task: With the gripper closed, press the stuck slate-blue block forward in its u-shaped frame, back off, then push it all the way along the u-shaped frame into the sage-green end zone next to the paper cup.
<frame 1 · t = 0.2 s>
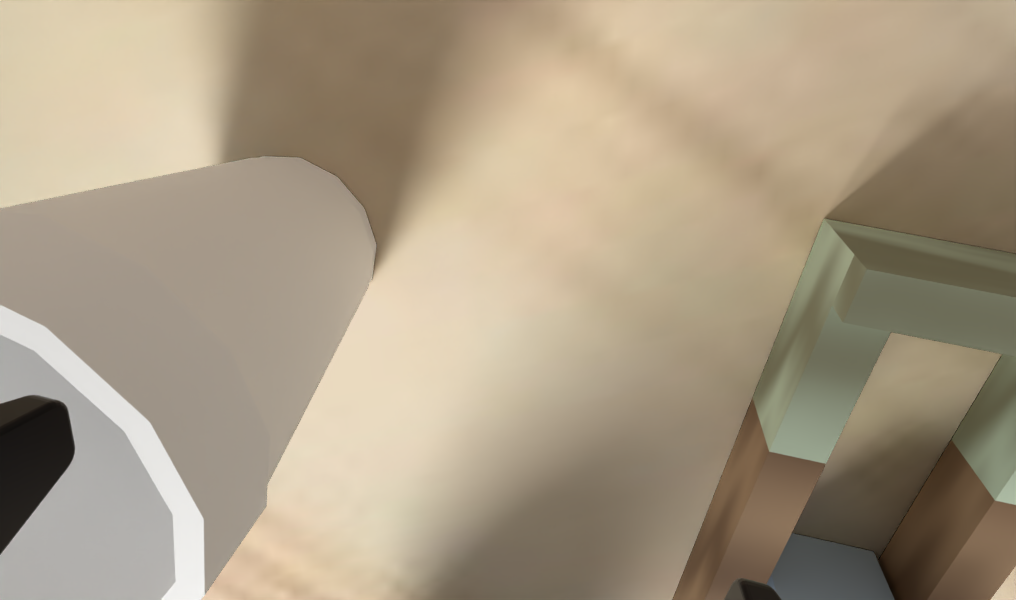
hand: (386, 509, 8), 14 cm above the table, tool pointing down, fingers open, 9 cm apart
u-shaped frame: (840, 493, 24), on the table
foam cup: (297, 238, 23), on the table
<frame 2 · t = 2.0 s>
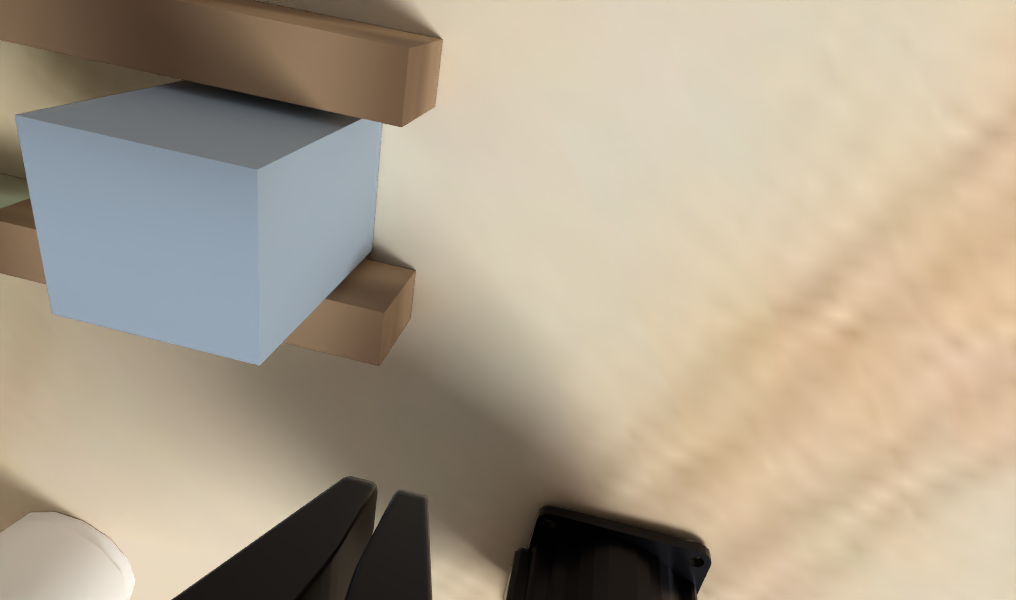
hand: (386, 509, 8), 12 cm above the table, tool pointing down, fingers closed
block: (237, 199, 16), point 4 cm above the table, slide at 0.0 cm
u-shaped frame: (147, 131, 20), on the table
foam cup: (77, 557, 30), on the table
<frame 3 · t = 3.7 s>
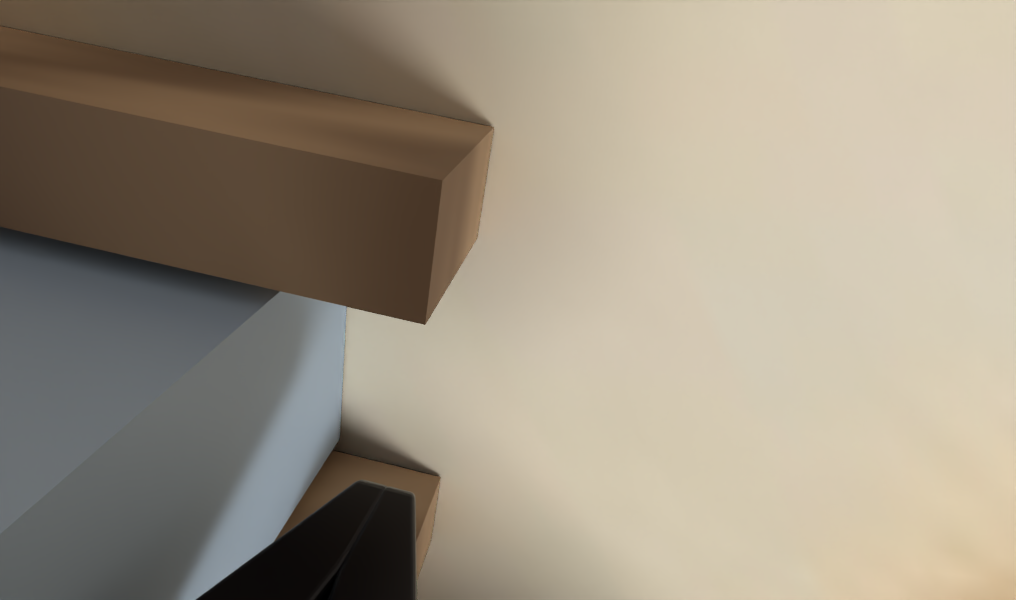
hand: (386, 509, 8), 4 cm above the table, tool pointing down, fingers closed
block: (70, 429, 9), point 3 cm above the table, slide at 0.6 cm, touching gripper
u-shaped frame: (2, 263, 12), on the table
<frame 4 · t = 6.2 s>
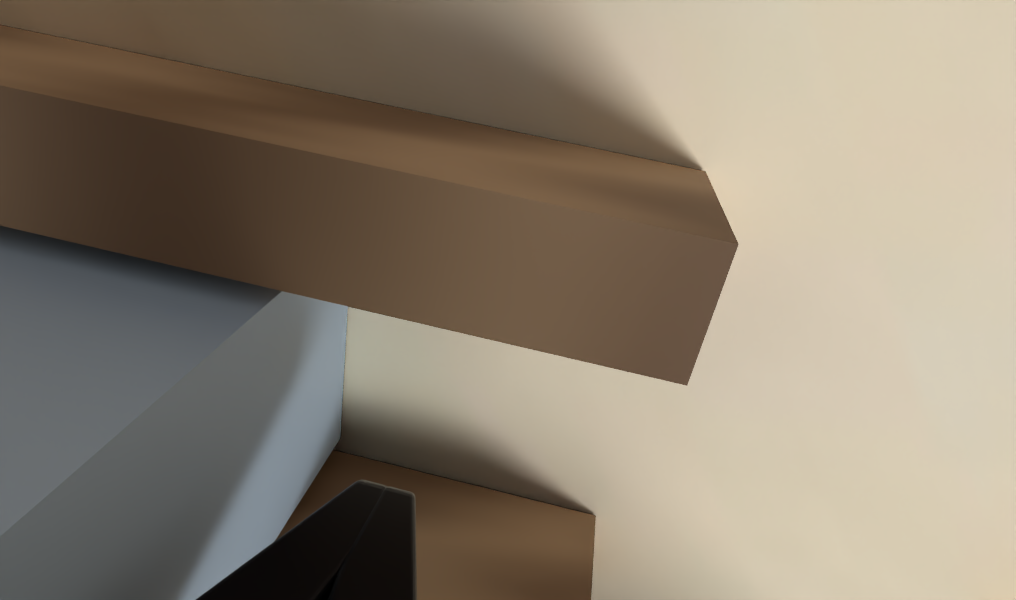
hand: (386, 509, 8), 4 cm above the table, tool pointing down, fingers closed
block: (71, 428, 9), point 3 cm above the table, slide at 3.8 cm, touching gripper
u-shaped frame: (157, 298, 12), on the table
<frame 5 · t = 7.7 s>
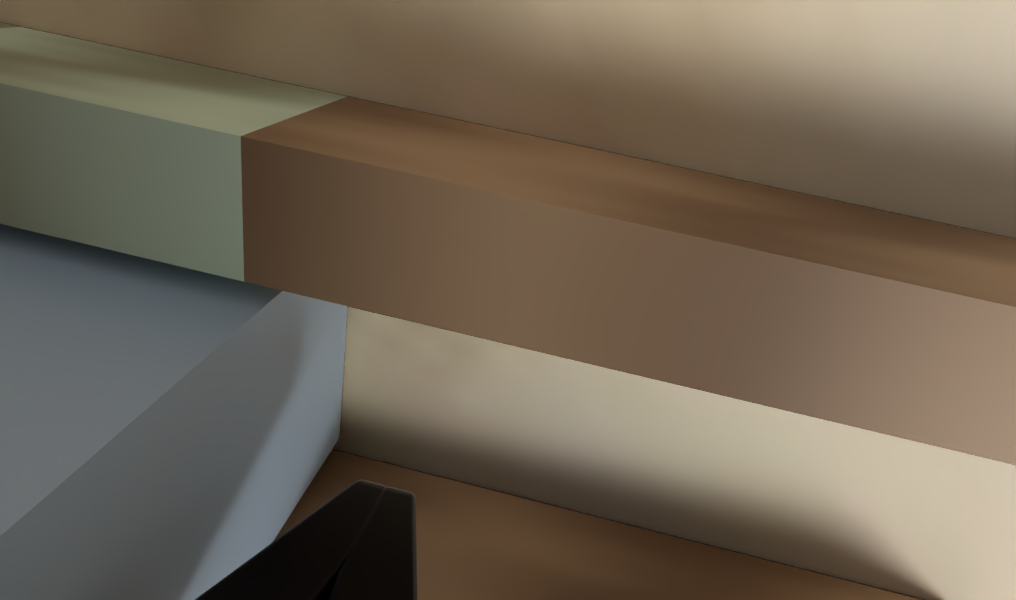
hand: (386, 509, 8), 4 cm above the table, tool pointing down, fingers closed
block: (71, 427, 9), point 4 cm above the table, slide at 10.7 cm, touching gripper
u-shaped frame: (514, 384, 11), on the table
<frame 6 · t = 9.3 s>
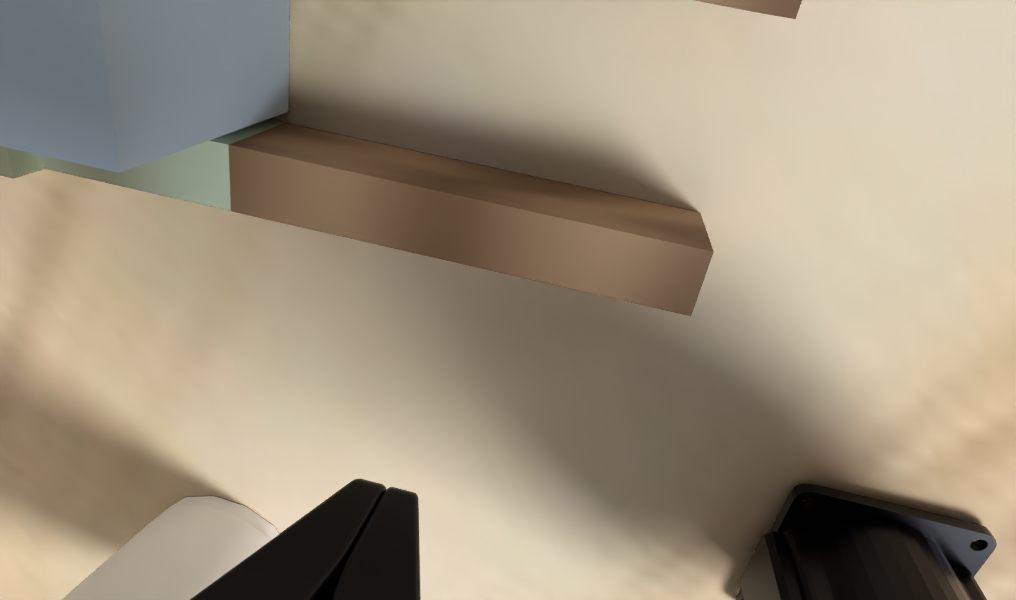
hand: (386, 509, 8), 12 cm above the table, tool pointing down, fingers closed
block: (114, 17, 15), point 3 cm above the table, slide at 10.8 cm
u-shaped frame: (402, 53, 17), on the table
foam cup: (229, 546, 28), on the table
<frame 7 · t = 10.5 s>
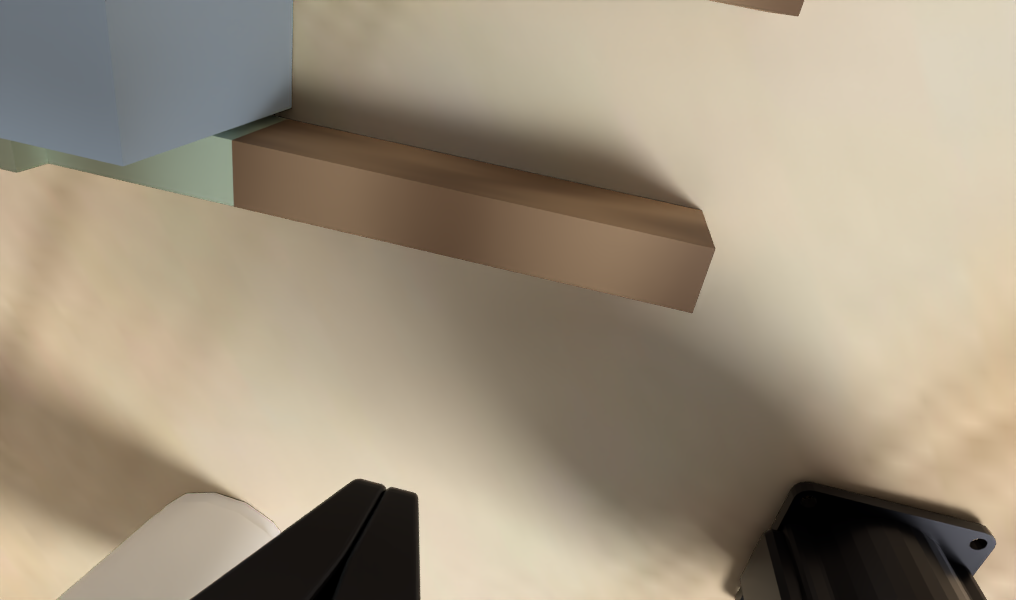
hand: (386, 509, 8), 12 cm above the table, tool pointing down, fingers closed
block: (119, 11, 15), point 4 cm above the table, slide at 10.8 cm
u-shaped frame: (406, 49, 17), on the table
foam cup: (229, 543, 28), on the table
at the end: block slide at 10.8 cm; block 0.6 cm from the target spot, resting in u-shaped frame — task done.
